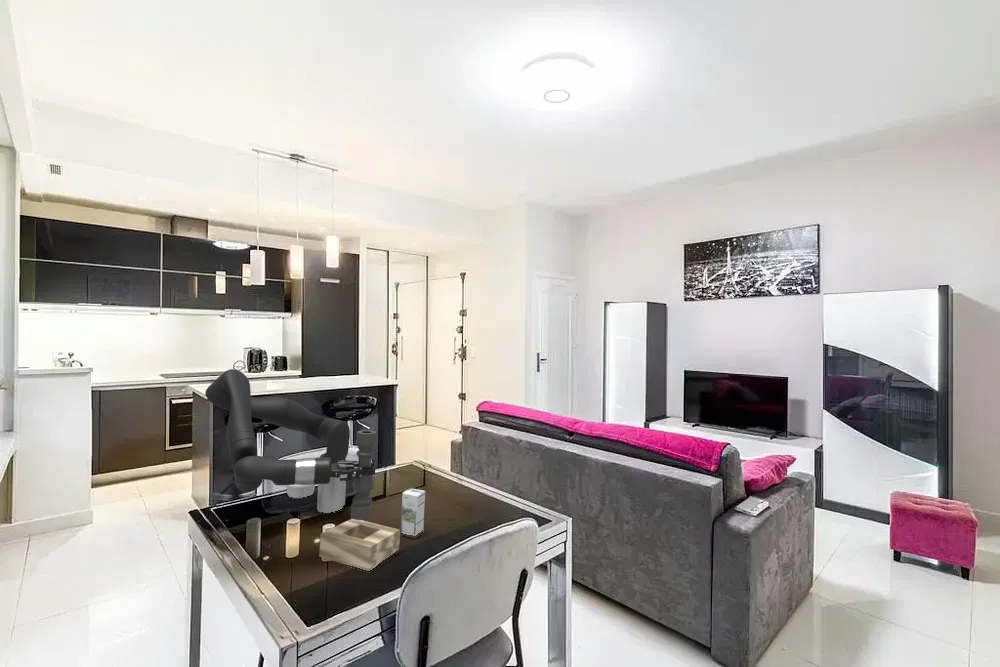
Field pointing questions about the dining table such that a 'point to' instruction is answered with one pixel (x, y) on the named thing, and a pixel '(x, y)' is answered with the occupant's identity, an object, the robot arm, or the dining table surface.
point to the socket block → (359, 543)
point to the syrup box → (412, 511)
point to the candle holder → (363, 477)
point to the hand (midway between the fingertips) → (373, 468)
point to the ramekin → (300, 490)
